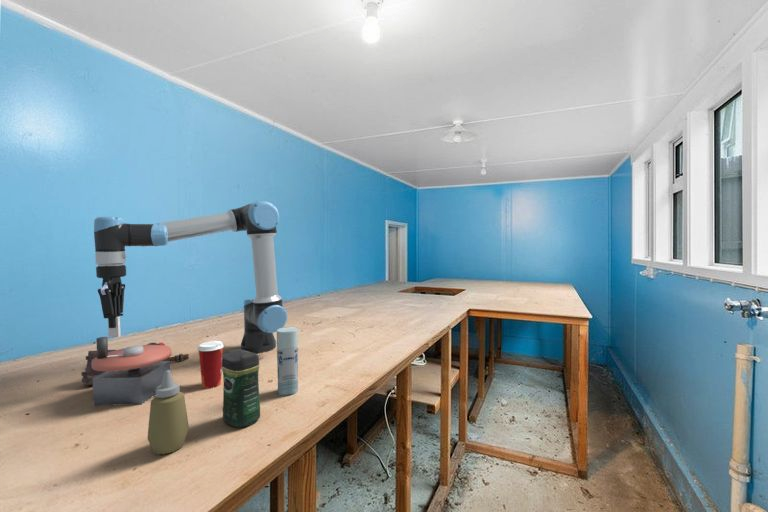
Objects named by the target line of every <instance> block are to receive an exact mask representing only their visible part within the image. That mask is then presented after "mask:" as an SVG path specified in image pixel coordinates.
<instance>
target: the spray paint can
mask: <svg viewBox="0 0 768 512" xmlns="http://www.w3.org/2000/svg"><path fill="white" fill-rule="evenodd" d="M276 360H277V361H276V367H277V371H276V372H277V394H278V395H280V396H283V397H287V396H292V395H295V394H297V393H298V391H299V329H298V327H295V326H293V327H292V326H287V327H285V326H283V328H280V329H277V332H276Z"/></svg>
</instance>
